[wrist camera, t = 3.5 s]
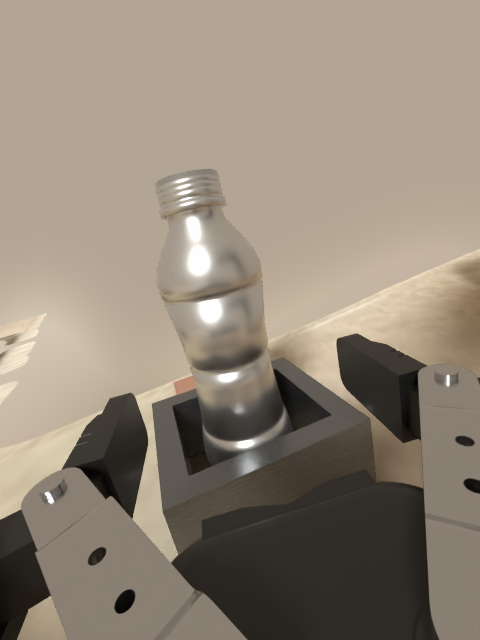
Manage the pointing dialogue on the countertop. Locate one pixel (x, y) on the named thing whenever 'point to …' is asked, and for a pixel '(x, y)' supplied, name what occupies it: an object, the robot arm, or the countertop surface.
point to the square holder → (257, 454)
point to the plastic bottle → (218, 316)
